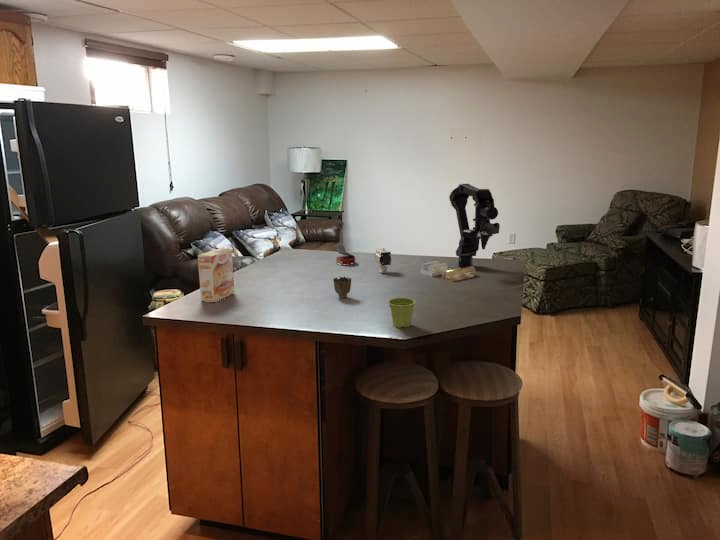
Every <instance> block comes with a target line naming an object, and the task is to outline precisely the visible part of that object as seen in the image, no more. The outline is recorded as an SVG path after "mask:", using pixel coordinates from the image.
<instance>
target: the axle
mask: <svg viewBox="0 0 720 540" xmlns="http://www.w3.org/2000/svg"><path fill="white" fill-rule="evenodd" d="M472 271H473V272H475V273H476V268H475V267H474V266H473V265H472V266H469V267H464V268H461V267H458V268H456V269H455V268H454V269H448V271H445V273H444V277H445V279H444V280H447V281H449V280H450V279H451V276H453V275H458V274H462V273H467V272H472Z"/></svg>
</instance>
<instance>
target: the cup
mask: <svg viewBox="0 0 720 540" xmlns="http://www.w3.org/2000/svg"><path fill="white" fill-rule="evenodd" d="M333 287H334V291H335V292H336V294H338V295H337V296H338V298H339V299H346V298H347V297H348V294H349V293H350V292H351V287H352V278H351V277H346V276H340V277H339V278H338V277H335V278H333Z"/></svg>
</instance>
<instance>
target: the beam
mask: <svg viewBox="0 0 720 540" xmlns="http://www.w3.org/2000/svg"><path fill="white" fill-rule="evenodd" d="M475 274H476V271H475V272H473V271H472V272H467V273H462V274H458V275H453V276H451V279H450V280H448V281H449V282H456V281H457V282H458V281H461V280H465V279H470V278H474V277H476V276H475ZM442 279H443V280H446V279H445V277H444V273H442V274H441V280H442Z"/></svg>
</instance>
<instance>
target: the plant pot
mask: <svg viewBox="0 0 720 540" xmlns="http://www.w3.org/2000/svg"><path fill="white" fill-rule="evenodd" d="M387 303H388V304H389V308H390V312H391V318H392V325H393V326H394V327H395V328H408V327H410V326H411V324H412V320H413V319H412V317H413V310H414V308H415V304H416V300H415V299H413V298H409V297H397V298H390V299H389V300H388V301H387Z"/></svg>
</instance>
